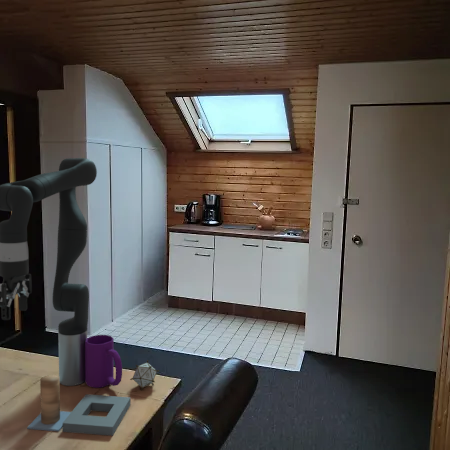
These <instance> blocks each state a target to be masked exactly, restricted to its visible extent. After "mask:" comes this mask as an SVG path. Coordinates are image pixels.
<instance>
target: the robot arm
mask: <svg viewBox="0 0 450 450" xmlns="http://www.w3.org/2000/svg"><path fill="white" fill-rule="evenodd" d="M97 173H98V170H97V166H96V163H94V161H93V160H91V159H90V158H84V157H75V158H74V157H70V158H69V157H68V158H63V160H61V162H60V164H59V167H58V170H57V171H50V172H45V173H41V174H37V175H35V176H32V177H29V178H26V179H23V180H18V181H12V182H6V183H2V184H0V211H2V212H3V211H4V212H11V213H10V216H9V219H5V220H2V221H0V277H2V279H3V281H2V283H0V313H1V321H2V320H3V321H10V320H11V316H12V313H11V308H12V307H11V305H12V301H13V300H14V299H15V297H16V295H18V310H19V311H22V312H25V311H27V310H28V298H29V296H30V294H32V293H33V284H32V280H33V279H32V274H31V273H29V272H30V271H29V270H30V268H29V267H30V265H29V262H30V261H29V258H30V257H29V246H28V224H29V221H30V216H31V213H32V209H33V204H34V203H37V202H40V201H43V200H45V199H46V198H49V197H51V196H53V195H56V194H59V195H58V196H59V197H58V198H59V203H58V204H59V207H58V208H59V212H58V215H59V216H58V225H57V226H58V227H57V246H56V247H57V252H56V254H57V255H56V265H55V275H54V283H53V288H52V289H53V290H52V307H53V309H54V310H56V311H57V312H58V311H59V312H71V313H73V312H74V315H73V317H70V318H67V319H64V320H61V322H59V323H58V326H57V327H58V329H57V332H58V334H57V335H58V376H59V381H60V384H61V385H62V386H67V387H68V386H69V387H70V386H78V385H80V384H83V383H86V380H85V341H86V339H87V338H88V324H89V306H90V304H89V303H90V291H89V287H88V286H87V285H86V284H84V283H69V276H70V274H71V270H72V268H73V266H74V264H75V263H76V261H78V259H79V257H80V256H82V255H81V254H82V253H83V252H84V250H85V248H86V247H87V246H86V245H87V242H88V240H87V238H88V224H87V220H86V218H85V216H84V214H83V212H82V211H81V209H80V207H79V205H78V202H77V194H76V193H77V192H76V189H77V187H81V186H83V187H84V186H89V185H91V184H93V183H94V182H95V180H96V178H97Z"/></svg>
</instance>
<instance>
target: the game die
mask: <svg viewBox="0 0 450 450" xmlns="http://www.w3.org/2000/svg"><path fill="white" fill-rule="evenodd" d="M159 371H160V370H159V369H158V370H156V368H154V367H153V366H152V365H151V364H150V363H149V360H148V359H147V361H146V362H144V363H142V364H140V365H138V364H135V370H134V373H133V376H132V377H131V378H130V379H129V380H130V381H132V380H133V381H134V382H135V383H136V384H137V385H138V386H139V387H140V390H141V391H143V390H144V389H143V388H145V387H147V386H150V385H152V386H154V383H156V382H155V377H156V376H157V373H158V372H159Z"/></svg>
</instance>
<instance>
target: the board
mask: <svg viewBox="0 0 450 450" xmlns="http://www.w3.org/2000/svg"><path fill="white" fill-rule="evenodd" d="M131 403H132V402H131V397H130V396H129V397H128V396H115V395H104V394H103V395H101V394H99V395H98V394H85V395H84V396H83V397H82V399H81V400H79V402H78V403H77V404H76V406H75V407H74V408H73V410H72V411H70V412H71V413H70V414H69V416H68V417H67V418H66V419H65V421H64V422H63V427H62V432H63V433H73V434H74V433H77V434H85V435H86V434H87V435H100V436H110V435H111V436H114V435H115V433H116V432H117V429H118V427H119V426H120V424H121V422H122V421H123V420H124V417H125V416H126V414H127V412H128V410H129V409H130V407H131V405H132V404H131ZM94 411H96V412H106V413H107V412H108V413H107V415H106V416H101V415H100V416H98V415H90V413H91V412H94Z"/></svg>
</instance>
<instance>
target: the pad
mask: <svg viewBox="0 0 450 450" xmlns="http://www.w3.org/2000/svg"><path fill="white" fill-rule="evenodd" d="M71 412H72V411H63V410H60V420H59V421H58V422H56V423H54V424H43V423H42V422H41V412H40V413H39V414H38V415H37V417H35V418H34V420H32V422H31V423H30V424H29V425H28V426H27V430H37V431H38V430H39V431H49V432H50V431H51V432H60V431H61V430H62V429H63V422H64V421H65V419H66V418H67V417H68V416H69V414H70V413H71Z"/></svg>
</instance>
